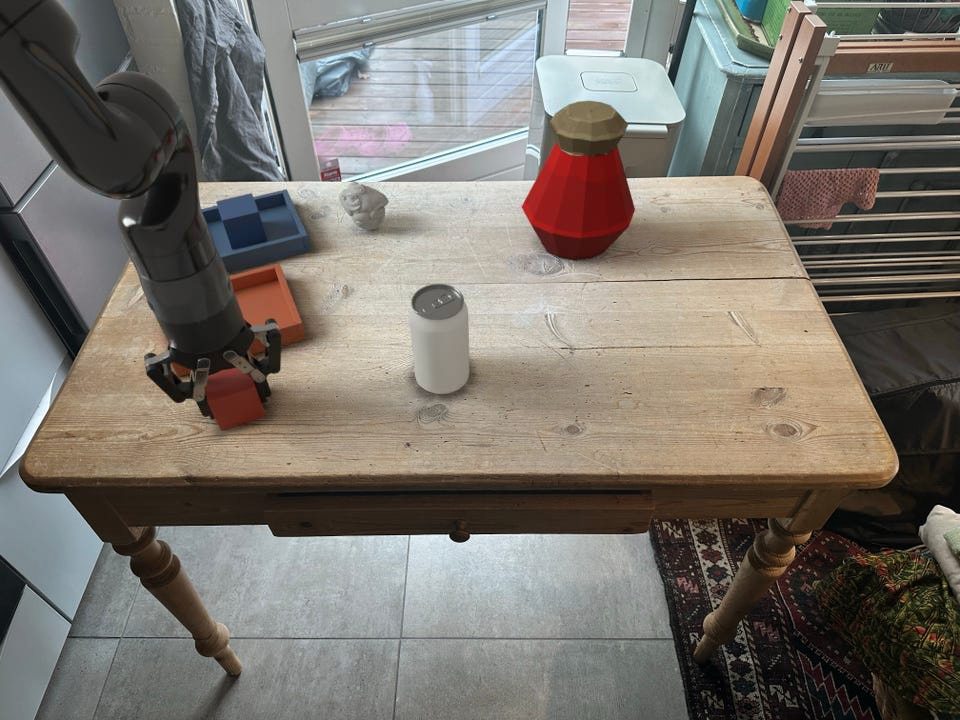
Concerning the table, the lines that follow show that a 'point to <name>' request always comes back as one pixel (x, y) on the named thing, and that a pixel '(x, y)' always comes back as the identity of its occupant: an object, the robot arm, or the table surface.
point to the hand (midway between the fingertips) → (238, 405)
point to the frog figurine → (364, 205)
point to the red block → (233, 398)
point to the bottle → (582, 184)
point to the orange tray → (264, 306)
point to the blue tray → (279, 229)
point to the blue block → (241, 221)
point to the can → (439, 338)
